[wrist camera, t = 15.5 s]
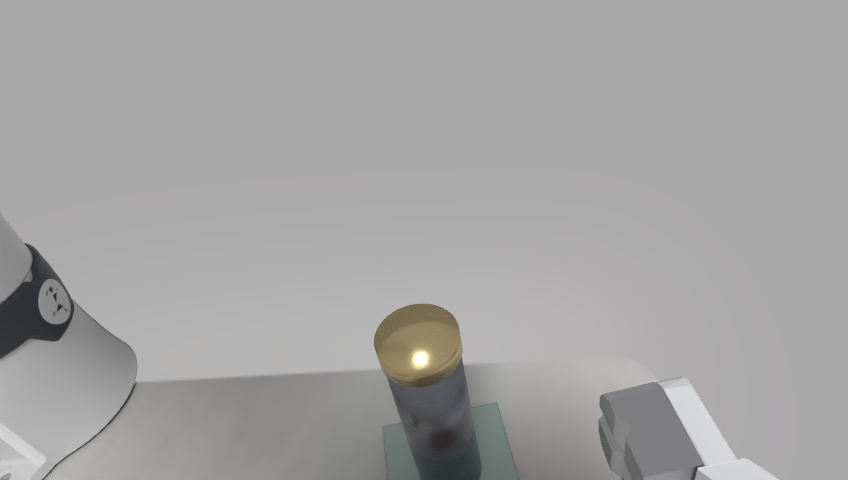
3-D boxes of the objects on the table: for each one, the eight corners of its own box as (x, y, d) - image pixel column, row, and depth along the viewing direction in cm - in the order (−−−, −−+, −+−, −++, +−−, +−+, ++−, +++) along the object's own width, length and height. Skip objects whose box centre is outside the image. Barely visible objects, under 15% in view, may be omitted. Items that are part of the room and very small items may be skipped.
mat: (395, 549, 39) (394, 545, 38) (384, 431, 46) (382, 426, 45) (528, 521, 39) (528, 516, 38) (497, 406, 46) (496, 402, 45)
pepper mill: (421, 507, 40) (376, 378, 31) (413, 444, 44) (371, 312, 34) (490, 494, 40) (466, 360, 31) (476, 432, 44) (451, 296, 34)
